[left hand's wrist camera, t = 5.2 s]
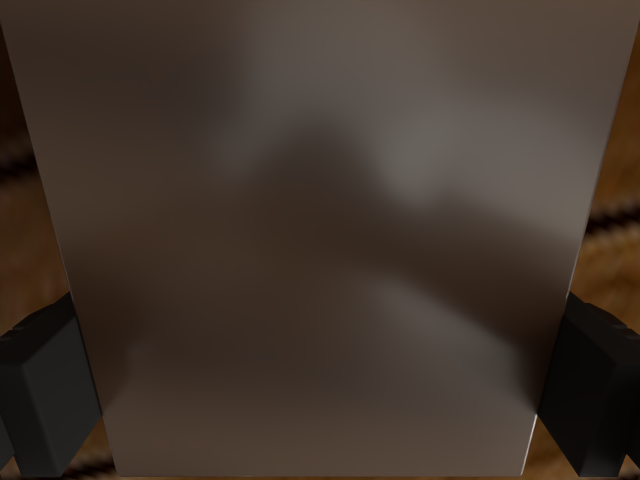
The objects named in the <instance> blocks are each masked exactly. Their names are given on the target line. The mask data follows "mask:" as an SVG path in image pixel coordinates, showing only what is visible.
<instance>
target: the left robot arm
mask: <svg viewBox="0 0 640 480" xmlns="http://www.w3.org/2000/svg"><path fill="white" fill-rule="evenodd" d="M101 416H102V413H101V409H100V405H99V402H98V398H97V394H96V390H95V386H94V382H93V378H92V375H91V371H90V367H89V363H88V359H87V355H86V351H85V348H84V344H83V340H82V336H81V332H80V328H79V324H78V321H77V317H76V313H75V309H74V305H73V301H72V297H71V294H70V291H69V292H68V293H67V294H65V295H64V296H63V297H62V298H60V299H59V300H58V301H57V302H55V303H54V304H51V305H48V306H46V307H44V308H42V309H40V310H38V311H36V312H34V313H32V314H30V315H28V316H27V317H26V318H24V319H23V320H22V321H21V322H19V323H18V324H17V325H15V326H14V327H13V329H12V330H9V331H8V332H6V333H5V334H4V335H2V336H1V337H0V471H1V470H2V468H3V467H4V466H5V465H6V464H7V462H8V461H9V460H10V459H11V458H12V457H13V455H14V457H15V460H16V463H17V465H18V468H19V470H20V473H21V476H22V477H61V475H62V474H63V472H64V471H65V469H66V468H67V466H68V465H69V463H70V462H71V460H72V459H73V457H74V456H75V455H76V453H77V452H78V450H79V449H80V447H81V446H82V444H83V443H84V441H85V440H86V438H87V437H88V435H89V434H90V432H91V431H92V429H93V428H94V426H95V425H96V423H97V422H98V420H99V419H100V417H101ZM538 416H539V418H540V419H541V421H542V422H543V424H544V425H545V427H546V428H547V430H548V431H549V433H550V434H551V436H552V437H553V439H554V440H555V442H556V443H557V445H558V446H559V448H560V449H561V451H562V452H563V454H564V455H565V457H566V458H567V460H568V461H569V463H570V464H571V466H572V467H573V469H574V470H575V472H576V473H577V475H578V476H579V477H618V474H619V471H620V469H621V466H622V464H623V461H624V458H625V456H626V454H627V455H628V456H629V457H630V458H631V460H632V461H633V462H634V463H635V464H636V465H637V467H638V468H639V469H640V335H638V334H637V333H636V332H634V331H633V330H632V329H628V328H627V325H625V324H624V323H623V322H621V321H620V320H619V319H617V318H616V317H615V316H614V315H612V314H611V313H609V312H607V311H605V310H603V309H601V308H598V307H596V306H594V305H592V304H590V303H584V302H583V301H582V300H580V299H579V298H578V297H577V296H575V295H574V294H573V293H572V292H570V291H569V295H568V299H567V303H566V307H565V311H564V314H563V318H562V322H561V326H560V330H559V334H558V338H557V342H556V345H555V349H554V353H553V357H552V361H551V365H550V369H549V372H548V376H547V380H546V384H545V388H544V392H543V396H542V400H541V403H540V407H539V411H538ZM0 480H2V478H1V475H0ZM638 480H640V475H639V478H638Z"/></svg>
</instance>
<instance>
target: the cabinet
mask: <svg viewBox="0 0 640 480" xmlns="http://www.w3.org/2000/svg"><path fill="white" fill-rule="evenodd" d="M639 21H640V0H0V23H1V27H2V31H3V35H4V39H5V43H6V46H7V50H8V54H9V58H10V62H11V66H12V70H13V73H14V77H15V81H16V85H17V89H18V93H19V97H20V100H21V104H22V108H23V112H24V116H25V120H26V124H27V128H28V131H29V135H30V139H31V143H32V147H33V151H34V155H35V158H36V162H37V166H38V170H39V174H40V178H41V182H42V185H43V189H44V193H45V197H46V201H47V205H48V209H49V212H50V216H51V220H52V224H53V228H54V232H55V236H56V239H57V243H58V247H59V251H60V255H61V259H62V263H63V267H64V270H65V274H66V278H67V282H68V286H69V290H70V294H71V297H72V301H73V305H74V309H75V313H76V317H77V321H78V324H79V328H80V332H81V336H82V340H83V344H84V348H85V351H86V355H87V359H88V363H89V367H90V371H91V375H92V378H93V382H94V386H95V390H96V394H97V398H98V402H99V405H100V409H101V413H102V417H103V421H104V425H105V429H106V433H107V436H108V440H109V444H110V448H111V452H112V456H113V460H114V463H115V467H116V471H117V475H118V476H121V477H324V476H521V475H522V473H523V469H524V465H525V461H526V458H527V454H528V450H529V446H530V442H531V438H532V434H533V430H534V427H535V423H536V419H537V415H538V411H539V407H540V403H541V400H542V396H543V392H544V388H545V384H546V380H547V376H548V372H549V369H550V365H551V361H552V357H553V353H554V349H555V345H556V342H557V338H558V334H559V330H560V326H561V322H562V318H563V314H564V311H565V307H566V303H567V299H568V295H569V291H570V287H571V284H572V280H573V276H574V272H575V268H576V264H577V260H578V256H579V253H580V249H581V245H582V241H583V237H584V233H585V229H586V226H587V222H588V218H589V214H590V210H591V206H592V202H593V198H594V195H595V191H596V187H597V183H598V179H599V175H600V171H601V168H602V164H603V160H604V156H605V152H606V148H607V144H608V140H609V137H610V133H611V129H612V125H613V121H614V117H615V113H616V110H617V106H618V102H619V98H620V94H621V90H622V86H623V82H624V79H625V75H626V71H627V67H628V63H629V59H630V55H631V51H632V48H633V44H634V40H635V36H636V32H637V28H638V24H639Z"/></svg>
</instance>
